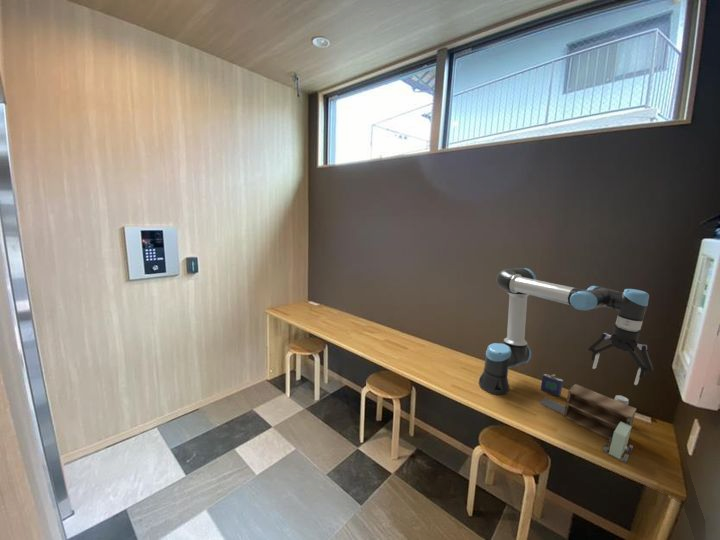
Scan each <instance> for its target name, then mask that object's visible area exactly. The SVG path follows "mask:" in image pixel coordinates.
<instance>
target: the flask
mask: <svg viewBox="0 0 720 540" xmlns="http://www.w3.org/2000/svg"><path fill="white" fill-rule="evenodd" d="M541 379H542V380H541V385H540V390H541V391H542V392H544V393H547V394H550V395H553V396H556V397H561V395H562V391H563V385H564V384H563V383H564V380H563V379H562V378H558V377H556V374H551V375H550V374H548V373H547V374H546V373H543V374H542V378H541Z"/></svg>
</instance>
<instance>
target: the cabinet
mask: <svg viewBox="0 0 720 540" xmlns="http://www.w3.org/2000/svg"><path fill="white" fill-rule="evenodd" d="M567 391H568V392H567V397H566V400H565V401H566V402H565V405H564V406H565V411H564V415H563V418H565V419H567V420H569V421H570V422H573V423H575V424H577V425H579V426H580V427H583V428H584V429H585V428H586V429H587V430H589V431H591V432H593V433H595V434H597V435H599V436H601V437H603V438H606V439H608V440H609V439H610V437H611V436H613V434H614V431H615V429H616V428H617V426H618V424H619V423H620V421H621V422H623V423H625V424H628V425H630V426H632V427H633V424H634V421H635V416H636V412H637V408H636V407H633V406H631V405H629V404H628V405H626V404H624V403H621V402H619V401H616V400H614V399H615V398H612V397H609V396H606V395H604V394H602V393H598V392H597V391H594V390H592V389H589V388H586V387H584V386H582V385H579V384H577V383H575V384H574V385H572V386H571V387H569V389H568V390H567ZM632 427H631V429H632ZM631 431H632V430H631ZM631 431H630V433H631ZM630 436H631V434H630V435H629V437H630Z"/></svg>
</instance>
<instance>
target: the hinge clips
mask: <svg viewBox="0 0 720 540" xmlns="http://www.w3.org/2000/svg"><path fill="white" fill-rule="evenodd" d="M612 438H613V436H611V437H610V439H608V443H609V444H610V445H611V442H612ZM609 444H607V443H605V444H604V447H603V452H604V453H605V454H607V455H609V456H612V457H613V458H615V459H617V460H619V461H621V462H623V463H624V462H625V463H624V464H627V463H628V460H629V454H632V452H633V449H634V445H632V444H629V446H628V447H627V449H625V451H624V452H627V453H629V454H627V453H625V454H624V455H623V456H622V457H621V459H619V458H617V457H615V456H613V455H611V454H609V450H610V445H609Z"/></svg>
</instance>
